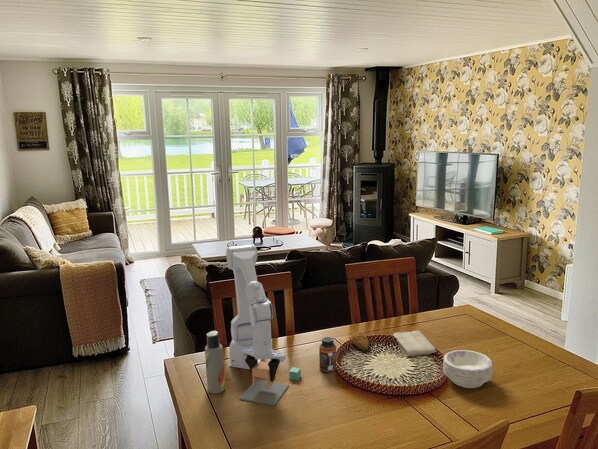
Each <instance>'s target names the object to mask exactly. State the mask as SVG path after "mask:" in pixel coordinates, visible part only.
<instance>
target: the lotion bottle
mask: <svg viewBox="0 0 598 449" xmlns="http://www.w3.org/2000/svg"><path fill="white" fill-rule="evenodd" d="M206 341H207V342H206V346H205V347H204V355H205V356H204V357H205V369H206V372H205V373H206V387H207V392H208V393H209V394H213V395H215V394H221V393H222V392H224V390H225V389H226V379H225V365H224V364H225V363H224V350H223V349H224V346H223V345H222V344H221V343H220V333H219V332H218V331H217V330H211V331H209V332H207V333H206Z"/></svg>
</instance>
